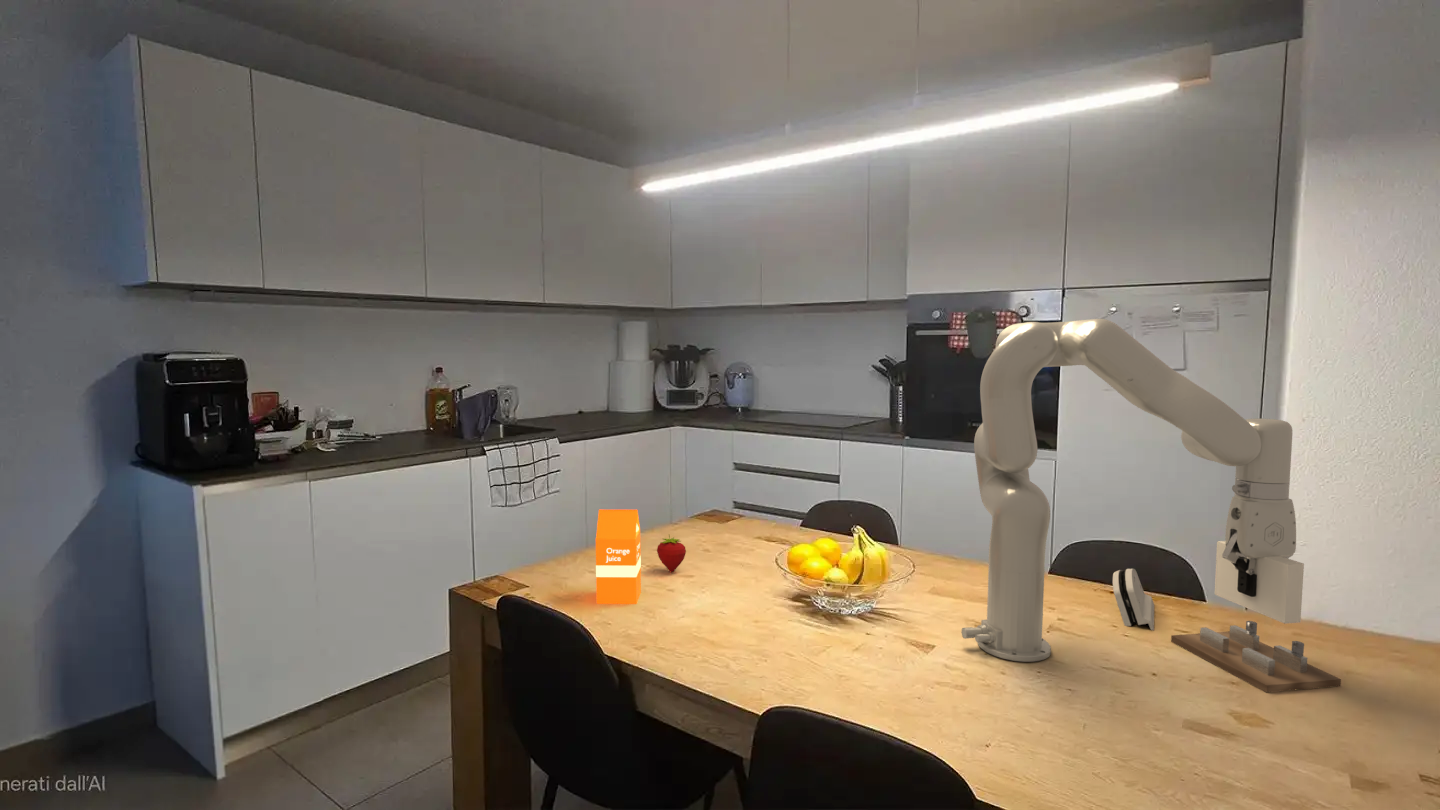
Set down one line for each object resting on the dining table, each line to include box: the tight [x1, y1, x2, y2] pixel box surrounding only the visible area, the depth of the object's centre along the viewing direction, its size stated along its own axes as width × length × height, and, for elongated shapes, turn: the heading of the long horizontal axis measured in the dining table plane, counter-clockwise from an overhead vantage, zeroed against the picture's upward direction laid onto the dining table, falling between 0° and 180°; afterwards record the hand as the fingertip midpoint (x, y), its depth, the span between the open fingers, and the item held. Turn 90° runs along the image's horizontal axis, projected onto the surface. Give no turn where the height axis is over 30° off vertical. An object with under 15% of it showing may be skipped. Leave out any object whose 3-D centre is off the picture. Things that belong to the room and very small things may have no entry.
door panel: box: [1214, 540, 1305, 625], centre depth 125 cm, size 3×14×10 cm, turn 9°
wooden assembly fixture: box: [1170, 620, 1342, 693], centre depth 126 cm, size 14×20×5 cm
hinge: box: [1112, 568, 1155, 631], centre depth 149 cm, size 17×5×10 cm, turn 149°
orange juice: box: [595, 509, 642, 605], centre depth 159 cm, size 8×9×20 cm
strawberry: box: [656, 535, 687, 573], centre depth 177 cm, size 6×8×10 cm
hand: (1255, 592), depth 126 cm, fingers closed on door panel, 3 cm apart
